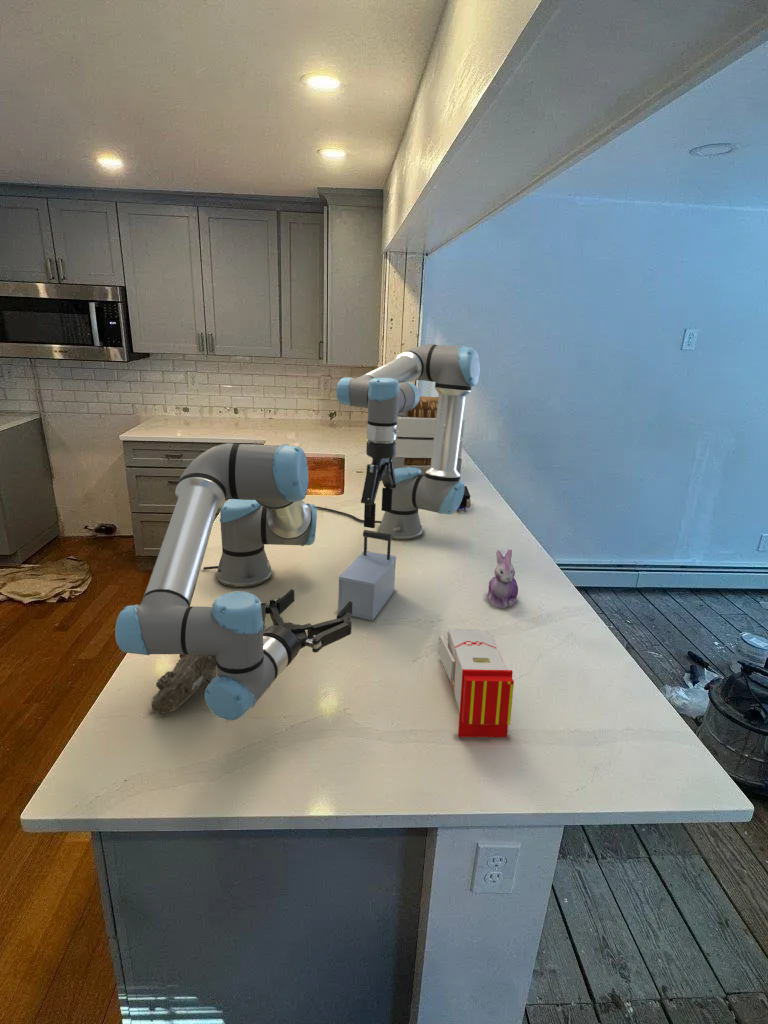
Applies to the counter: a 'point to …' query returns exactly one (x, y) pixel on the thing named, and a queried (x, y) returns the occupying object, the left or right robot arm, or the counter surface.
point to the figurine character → (465, 500)
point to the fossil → (182, 681)
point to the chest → (367, 595)
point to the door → (369, 562)
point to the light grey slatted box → (419, 435)
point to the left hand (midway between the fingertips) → (321, 601)
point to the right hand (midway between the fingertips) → (378, 518)
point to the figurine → (503, 582)
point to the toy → (478, 682)
